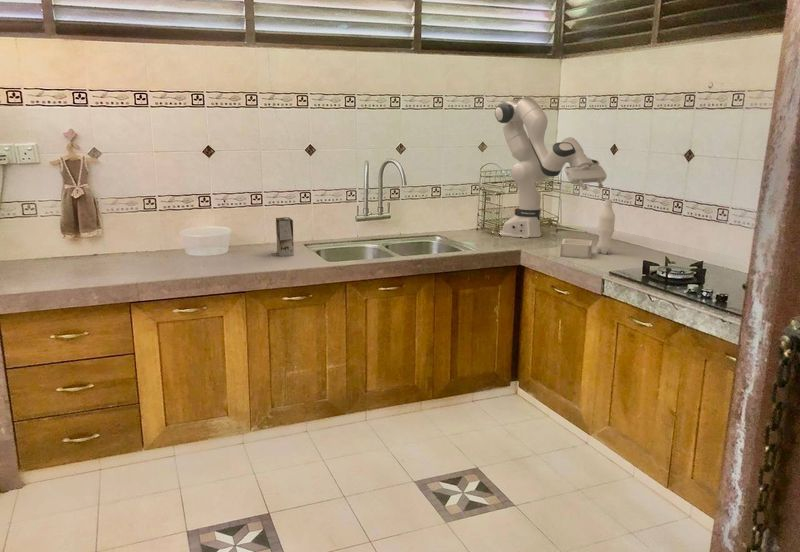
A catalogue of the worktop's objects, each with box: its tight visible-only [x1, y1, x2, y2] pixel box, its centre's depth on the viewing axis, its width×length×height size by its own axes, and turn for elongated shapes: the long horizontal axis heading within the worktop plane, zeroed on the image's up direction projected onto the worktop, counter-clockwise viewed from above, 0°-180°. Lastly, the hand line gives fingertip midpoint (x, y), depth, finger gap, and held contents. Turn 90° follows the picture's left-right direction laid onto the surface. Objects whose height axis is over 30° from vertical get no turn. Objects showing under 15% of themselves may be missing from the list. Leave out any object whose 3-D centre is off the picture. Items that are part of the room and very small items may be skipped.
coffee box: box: [275, 216, 295, 257], centre depth 289 cm, size 9×6×16 cm
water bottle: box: [595, 198, 616, 255], centre depth 297 cm, size 7×7×25 cm
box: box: [559, 237, 593, 260], centre depth 295 cm, size 13×13×6 cm
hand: (593, 188), depth 303 cm, fingers open, 8 cm apart
